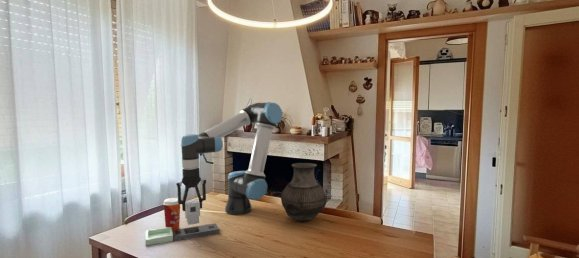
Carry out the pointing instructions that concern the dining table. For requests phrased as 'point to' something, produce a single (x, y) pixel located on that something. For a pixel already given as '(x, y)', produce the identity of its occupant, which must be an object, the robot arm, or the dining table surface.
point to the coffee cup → (172, 213)
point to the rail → (202, 231)
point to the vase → (303, 194)
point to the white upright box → (192, 211)
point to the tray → (159, 235)
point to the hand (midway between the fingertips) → (192, 216)
